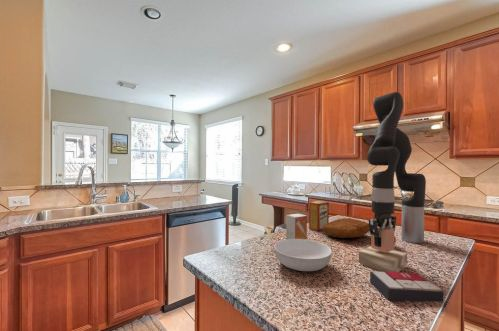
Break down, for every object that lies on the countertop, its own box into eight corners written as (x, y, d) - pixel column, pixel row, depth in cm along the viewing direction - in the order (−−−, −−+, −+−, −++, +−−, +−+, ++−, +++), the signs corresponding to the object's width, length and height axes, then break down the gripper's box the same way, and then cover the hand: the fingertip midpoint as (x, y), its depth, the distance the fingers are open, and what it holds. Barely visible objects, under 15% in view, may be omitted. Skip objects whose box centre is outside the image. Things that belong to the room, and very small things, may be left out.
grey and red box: (444, 289, 65) (389, 286, 66) (443, 305, 65) (388, 302, 66) (417, 272, 76) (370, 269, 77) (416, 285, 76) (369, 282, 77)
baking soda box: (318, 231, 134) (318, 203, 134) (309, 229, 139) (309, 201, 139) (328, 228, 140) (328, 201, 140) (319, 226, 145) (319, 200, 145)
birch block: (373, 256, 98) (373, 244, 98) (406, 266, 89) (406, 253, 89) (358, 264, 91) (358, 251, 91) (393, 275, 81) (393, 261, 81)
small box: (295, 245, 111) (295, 217, 111) (285, 241, 116) (285, 214, 116) (307, 242, 115) (307, 215, 115) (297, 238, 121) (297, 213, 121)
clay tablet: (346, 229, 138) (346, 215, 138) (375, 237, 124) (375, 222, 123) (319, 235, 126) (319, 220, 126) (348, 245, 112) (348, 227, 112)
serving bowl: (298, 284, 75) (298, 262, 75) (263, 260, 93) (263, 243, 93) (344, 271, 84) (344, 251, 84) (305, 251, 103) (305, 235, 103)
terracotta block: (379, 245, 94) (380, 225, 94) (394, 249, 89) (394, 228, 89) (371, 247, 91) (371, 226, 91) (385, 252, 86) (385, 230, 86)
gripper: (384, 197, 97) (384, 239, 97) (361, 200, 90) (361, 245, 90) (403, 199, 90) (403, 244, 90) (380, 202, 83) (380, 251, 83)
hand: (382, 244), depth 90 cm, fingers closed on terracotta block, 5 cm apart
